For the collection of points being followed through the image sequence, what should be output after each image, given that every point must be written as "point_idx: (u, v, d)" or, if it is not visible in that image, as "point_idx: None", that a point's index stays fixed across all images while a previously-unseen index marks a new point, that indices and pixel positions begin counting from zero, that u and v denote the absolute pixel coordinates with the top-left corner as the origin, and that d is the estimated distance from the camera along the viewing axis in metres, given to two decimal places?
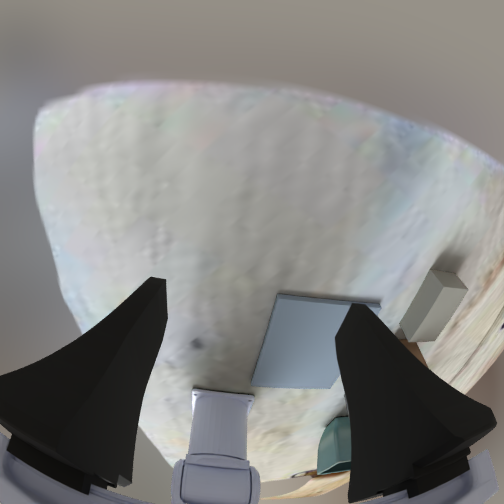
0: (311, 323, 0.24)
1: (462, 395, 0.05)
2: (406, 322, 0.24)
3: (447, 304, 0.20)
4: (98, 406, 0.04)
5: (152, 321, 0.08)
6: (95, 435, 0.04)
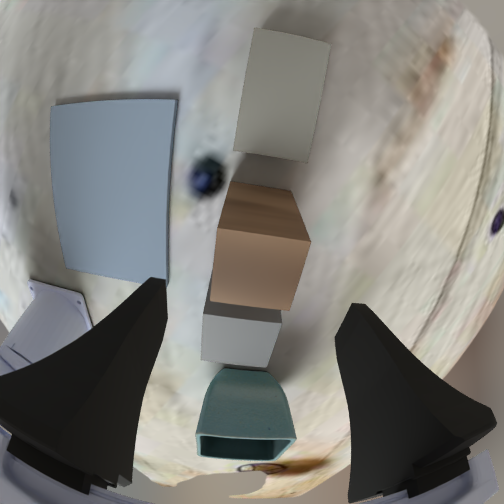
0: (86, 136, 0.15)
1: (462, 395, 0.05)
2: None
3: (288, 65, 0.11)
4: (98, 406, 0.04)
5: (152, 321, 0.08)
6: (95, 435, 0.04)
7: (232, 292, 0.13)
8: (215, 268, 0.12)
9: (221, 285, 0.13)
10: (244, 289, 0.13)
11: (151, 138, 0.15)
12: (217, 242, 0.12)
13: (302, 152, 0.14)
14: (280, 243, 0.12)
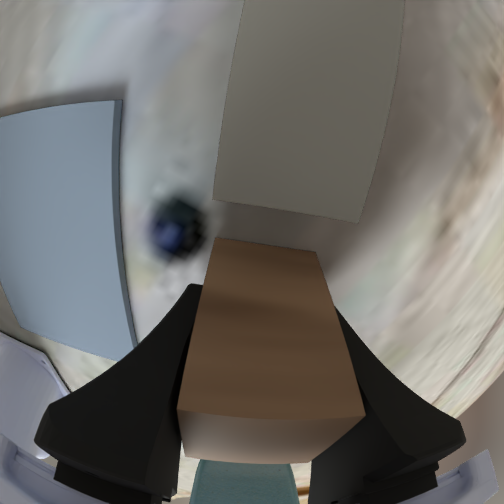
0: (6, 168, 0.08)
1: (427, 404, 0.05)
2: None
3: (328, 23, 0.04)
4: (167, 424, 0.04)
5: None
6: (164, 455, 0.04)
7: (219, 455, 0.06)
8: (186, 439, 0.05)
9: (199, 450, 0.06)
10: (238, 455, 0.06)
11: (83, 169, 0.08)
12: (182, 421, 0.05)
13: (351, 203, 0.07)
14: (308, 424, 0.05)
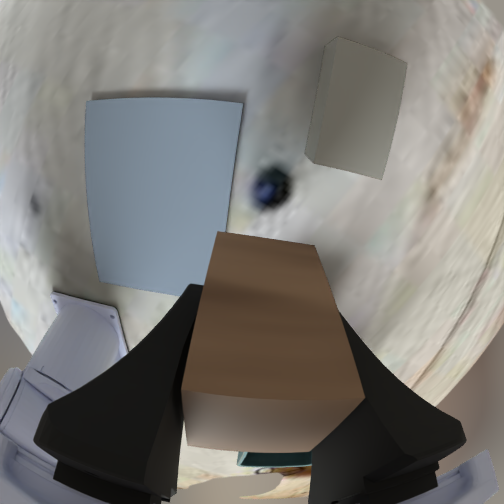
0: (133, 137, 0.14)
1: (427, 404, 0.05)
2: (310, 140, 0.14)
3: (370, 80, 0.10)
4: (166, 424, 0.04)
5: None
6: (163, 454, 0.04)
7: (221, 443, 0.07)
8: (189, 425, 0.06)
9: (201, 437, 0.06)
10: (240, 442, 0.06)
11: (213, 143, 0.14)
12: (185, 403, 0.05)
13: (378, 169, 0.13)
14: (309, 406, 0.05)
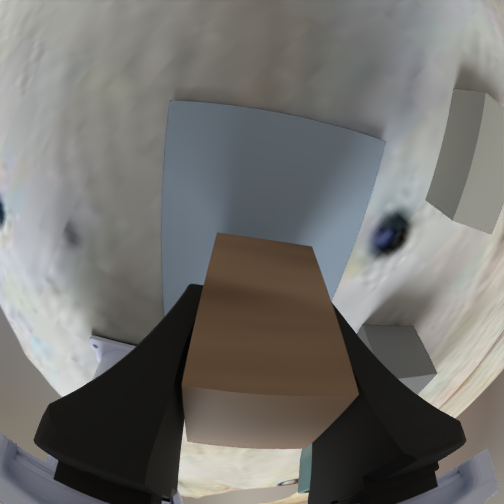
0: (244, 161, 0.12)
1: (427, 404, 0.05)
2: (438, 189, 0.12)
3: (501, 142, 0.08)
4: (167, 424, 0.04)
5: None
6: (164, 455, 0.04)
7: (220, 439, 0.07)
8: (188, 420, 0.06)
9: (201, 433, 0.07)
10: (238, 438, 0.07)
11: (349, 184, 0.12)
12: (185, 399, 0.05)
13: (491, 225, 0.11)
14: (304, 402, 0.05)
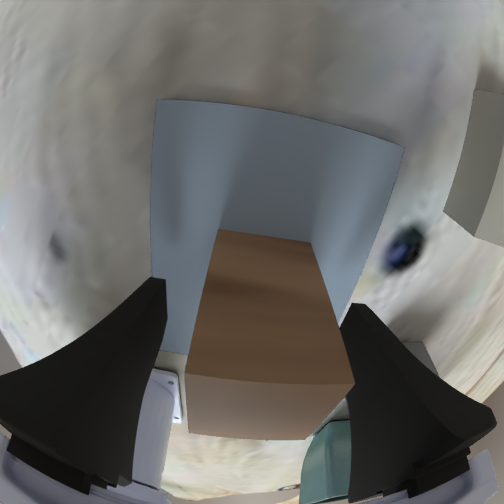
0: (243, 170, 0.10)
1: (462, 395, 0.05)
2: (458, 201, 0.10)
3: None
4: (98, 406, 0.04)
5: (152, 321, 0.08)
6: (95, 435, 0.04)
7: (221, 429, 0.07)
8: (190, 410, 0.06)
9: (202, 423, 0.07)
10: (239, 428, 0.07)
11: (363, 196, 0.10)
12: (188, 387, 0.06)
13: None
14: (302, 390, 0.06)
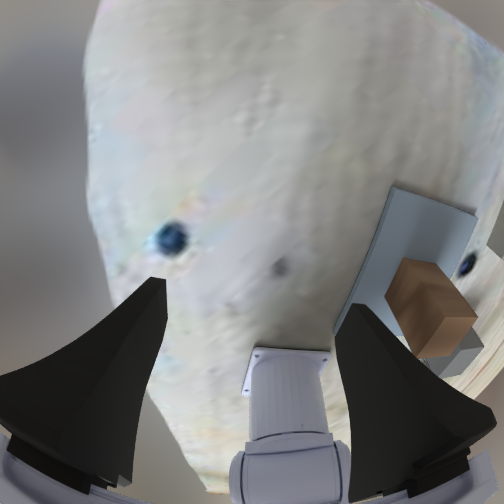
0: (421, 229, 0.18)
1: (462, 395, 0.05)
2: (494, 240, 0.18)
3: None
4: (98, 406, 0.04)
5: (152, 321, 0.08)
6: (95, 435, 0.04)
7: (430, 351, 0.15)
8: (430, 339, 0.14)
9: (427, 348, 0.15)
10: (437, 348, 0.15)
11: (459, 241, 0.18)
12: (440, 325, 0.14)
13: None
14: (466, 320, 0.14)
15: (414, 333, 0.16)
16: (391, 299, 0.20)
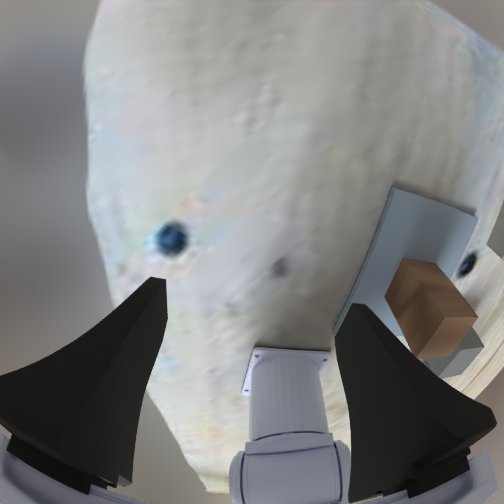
0: (421, 229, 0.18)
1: (462, 395, 0.05)
2: (494, 240, 0.18)
3: None
4: (98, 406, 0.04)
5: (152, 321, 0.08)
6: (95, 435, 0.04)
7: (430, 351, 0.15)
8: (430, 339, 0.14)
9: (427, 348, 0.15)
10: (437, 348, 0.15)
11: (459, 241, 0.18)
12: (440, 325, 0.14)
13: None
14: (466, 320, 0.14)
15: (414, 333, 0.16)
16: (391, 299, 0.20)
